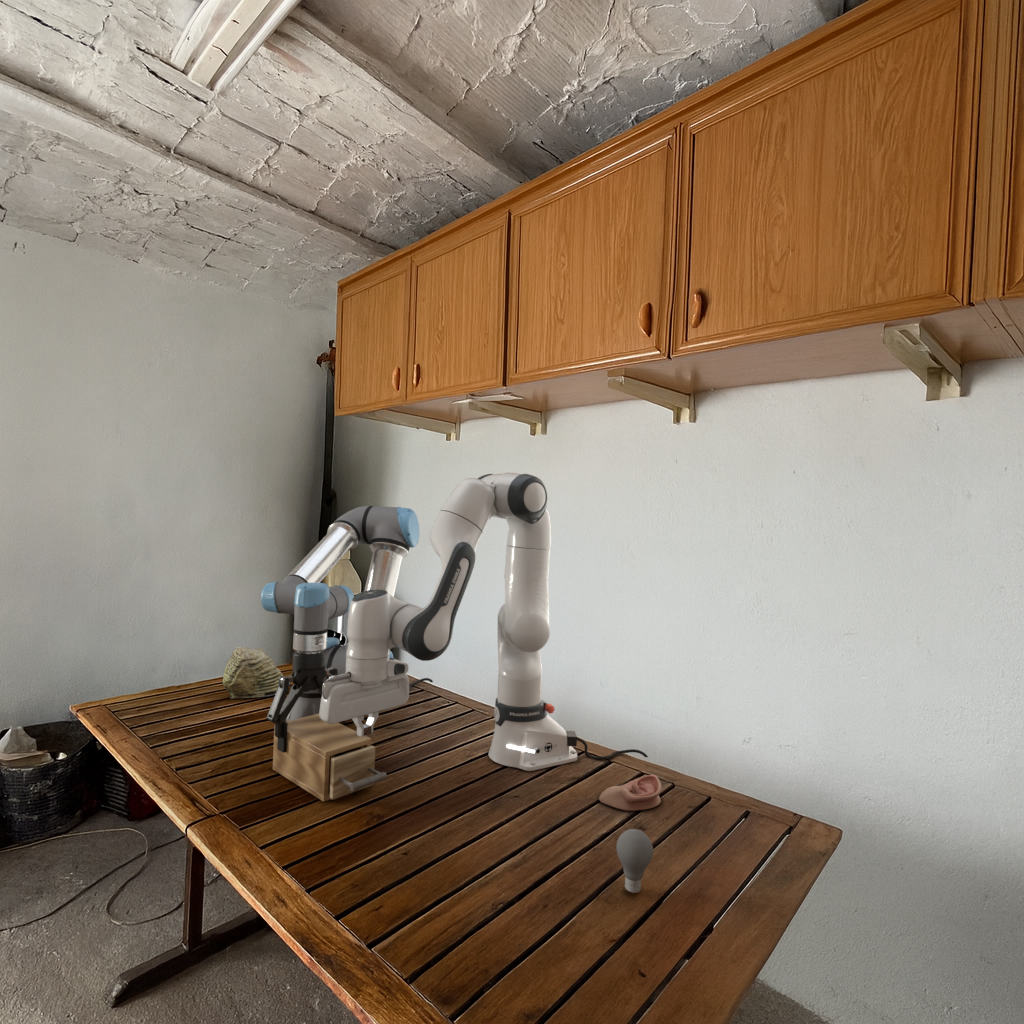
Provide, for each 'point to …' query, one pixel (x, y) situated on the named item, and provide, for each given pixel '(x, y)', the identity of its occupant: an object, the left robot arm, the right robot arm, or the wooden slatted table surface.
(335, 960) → the wooden slatted table surface
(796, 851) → the wooden slatted table surface
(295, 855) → the wooden slatted table surface
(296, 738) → the cabinet
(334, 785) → the drawer
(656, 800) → the anatomical model
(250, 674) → the fossil
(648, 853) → the light bulb
